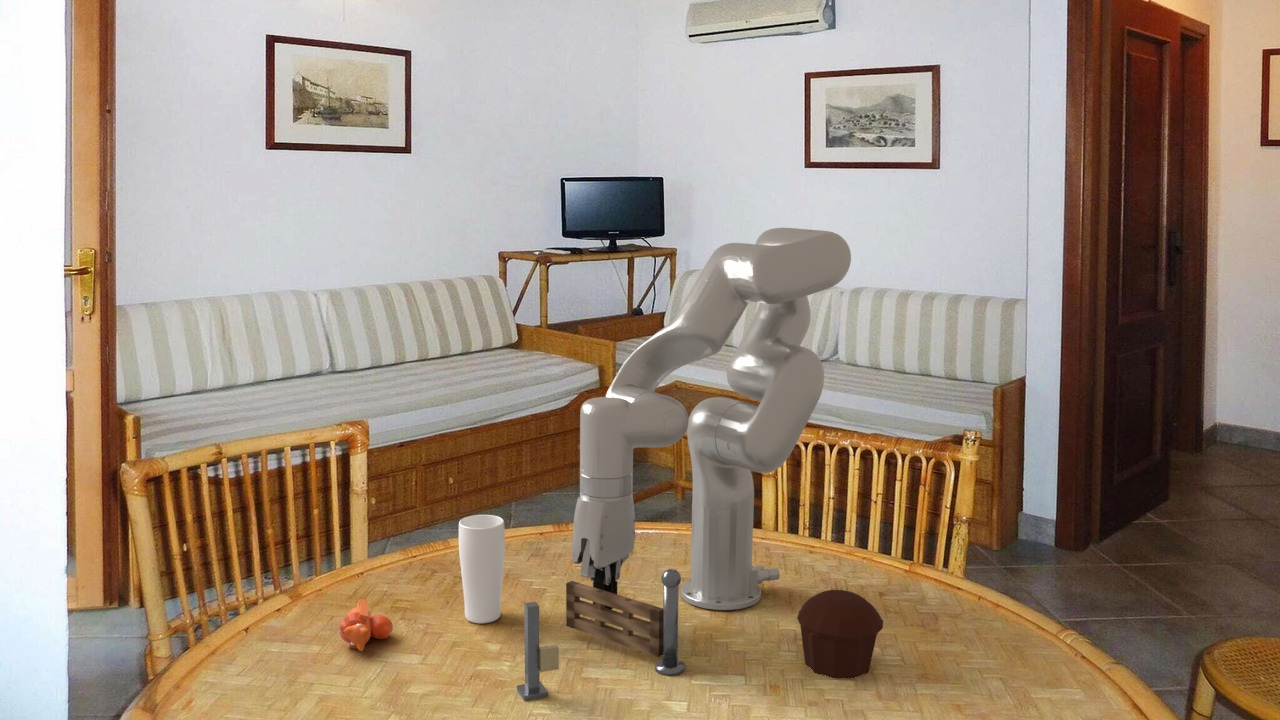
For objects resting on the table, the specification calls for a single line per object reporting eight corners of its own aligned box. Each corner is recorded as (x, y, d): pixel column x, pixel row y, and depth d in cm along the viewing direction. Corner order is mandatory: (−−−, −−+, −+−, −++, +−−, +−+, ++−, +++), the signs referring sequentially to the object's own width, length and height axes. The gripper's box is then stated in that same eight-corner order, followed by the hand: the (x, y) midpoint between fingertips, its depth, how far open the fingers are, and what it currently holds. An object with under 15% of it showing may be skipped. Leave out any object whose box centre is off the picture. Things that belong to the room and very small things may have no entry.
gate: (663, 654, 156) (664, 608, 154) (658, 657, 155) (659, 611, 154) (571, 623, 166) (571, 580, 164) (566, 626, 165) (566, 583, 163)
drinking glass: (497, 628, 167) (496, 530, 164) (453, 624, 168) (451, 526, 166) (511, 611, 174) (510, 516, 171) (469, 607, 175) (467, 512, 172)
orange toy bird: (347, 587, 167) (344, 619, 156) (397, 599, 169) (397, 632, 158) (336, 619, 168) (333, 653, 156) (386, 631, 170) (386, 665, 158)
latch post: (550, 683, 150) (550, 596, 148) (558, 694, 147) (558, 606, 145) (516, 689, 148) (515, 601, 146) (524, 700, 145) (523, 611, 143)
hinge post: (677, 660, 157) (678, 562, 155) (689, 672, 153) (691, 572, 151) (650, 665, 156) (651, 566, 153) (662, 677, 152) (663, 576, 149)
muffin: (778, 660, 158) (780, 590, 156) (834, 640, 164) (837, 573, 163) (842, 692, 148) (845, 619, 147) (899, 669, 155) (902, 599, 153)
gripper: (613, 469, 171) (612, 586, 175) (553, 492, 159) (553, 617, 162) (656, 477, 168) (654, 596, 171) (597, 501, 155) (596, 629, 158)
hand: (605, 606), depth 166 cm, fingers closed
